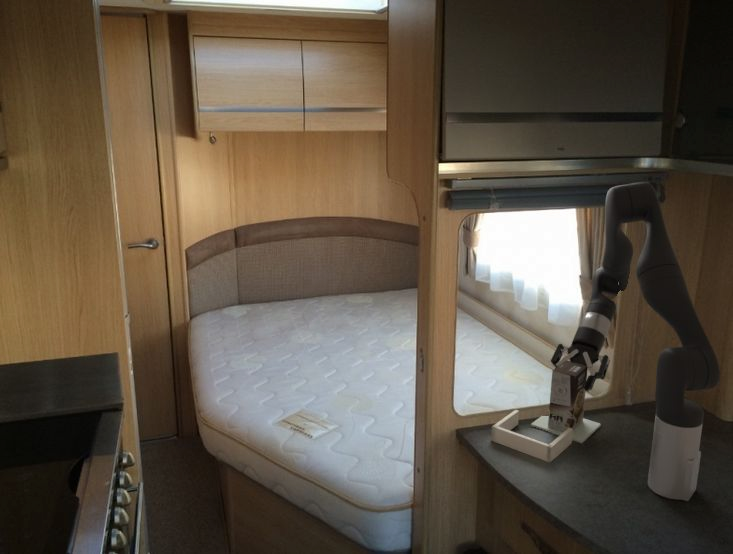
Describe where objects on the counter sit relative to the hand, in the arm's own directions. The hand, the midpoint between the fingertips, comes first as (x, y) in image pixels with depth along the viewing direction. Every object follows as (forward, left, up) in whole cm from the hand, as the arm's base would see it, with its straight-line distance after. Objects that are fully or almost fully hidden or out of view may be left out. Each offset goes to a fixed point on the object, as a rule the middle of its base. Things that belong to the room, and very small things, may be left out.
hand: (570, 385), depth 171 cm
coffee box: (0, +1, -11) cm, 11 cm away
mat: (0, +1, -11) cm, 11 cm away
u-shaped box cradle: (+3, +14, -11) cm, 18 cm away
